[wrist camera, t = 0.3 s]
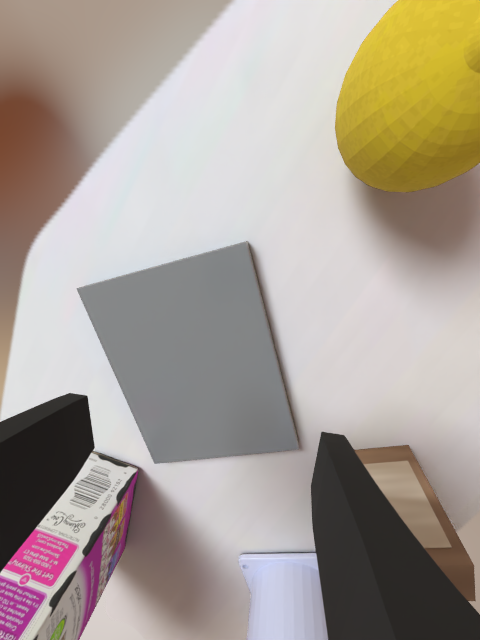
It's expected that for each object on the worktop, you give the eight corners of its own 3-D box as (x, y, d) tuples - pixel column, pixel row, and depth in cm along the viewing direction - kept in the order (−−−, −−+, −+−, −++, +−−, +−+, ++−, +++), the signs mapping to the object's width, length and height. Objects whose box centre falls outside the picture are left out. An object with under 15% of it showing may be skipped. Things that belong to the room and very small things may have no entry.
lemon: (454, 47, 12) (728, -235, 5) (444, 188, 14) (632, 151, 6) (320, 79, 13) (365, -107, 6) (326, 207, 15) (367, 194, 7)
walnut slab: (411, 473, 19) (475, 600, 13) (336, 478, 21) (359, 598, 14) (408, 444, 19) (473, 564, 12) (330, 451, 20) (352, 565, 13)
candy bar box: (84, 445, 23) (-300, 875, 8) (141, 464, 23) (-144, 946, 8) (77, 531, 27) (-187, 928, 12) (126, 548, 27) (-82, 976, 12)
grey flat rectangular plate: (298, 440, 20) (298, 449, 19) (159, 455, 22) (154, 463, 22) (247, 241, 16) (245, 242, 15) (84, 285, 18) (76, 288, 18)
